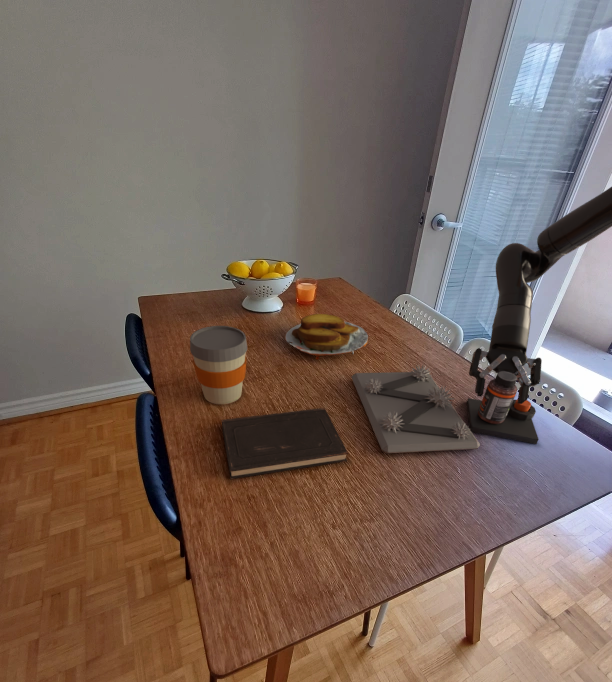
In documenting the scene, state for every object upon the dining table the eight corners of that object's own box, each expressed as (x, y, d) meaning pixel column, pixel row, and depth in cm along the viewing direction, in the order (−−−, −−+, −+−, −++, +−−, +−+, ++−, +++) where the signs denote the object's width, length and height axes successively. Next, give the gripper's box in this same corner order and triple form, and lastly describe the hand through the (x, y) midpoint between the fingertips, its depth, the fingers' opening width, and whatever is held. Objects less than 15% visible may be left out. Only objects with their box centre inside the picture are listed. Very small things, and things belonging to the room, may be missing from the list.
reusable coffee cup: (255, 403, 94) (254, 345, 85) (201, 413, 89) (194, 354, 81) (241, 376, 103) (238, 322, 94) (192, 384, 99) (184, 328, 90)
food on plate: (327, 372, 107) (329, 350, 103) (268, 339, 121) (268, 319, 117) (384, 345, 122) (387, 325, 118) (325, 318, 136) (327, 300, 132)
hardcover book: (346, 461, 79) (348, 452, 78) (230, 479, 74) (229, 470, 72) (323, 414, 92) (323, 406, 90) (221, 426, 86) (221, 418, 85)
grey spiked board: (349, 379, 105) (353, 355, 100) (427, 377, 108) (433, 354, 103) (382, 457, 81) (388, 430, 77) (480, 452, 84) (491, 426, 80)
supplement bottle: (475, 407, 95) (490, 366, 88) (501, 412, 94) (518, 370, 87) (478, 422, 90) (495, 380, 83) (506, 427, 89) (525, 384, 82)
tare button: (526, 405, 94) (529, 399, 93) (529, 413, 92) (532, 407, 91) (512, 403, 95) (515, 397, 94) (514, 410, 92) (517, 404, 91)
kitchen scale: (527, 412, 97) (532, 402, 95) (539, 444, 87) (544, 434, 85) (466, 401, 99) (469, 391, 98) (470, 431, 89) (474, 421, 88)
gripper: (482, 318, 87) (471, 389, 85) (552, 328, 85) (542, 402, 82) (473, 331, 94) (462, 397, 92) (537, 340, 92) (527, 408, 90)
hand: (500, 399), depth 87 cm, fingers open, 8 cm apart
